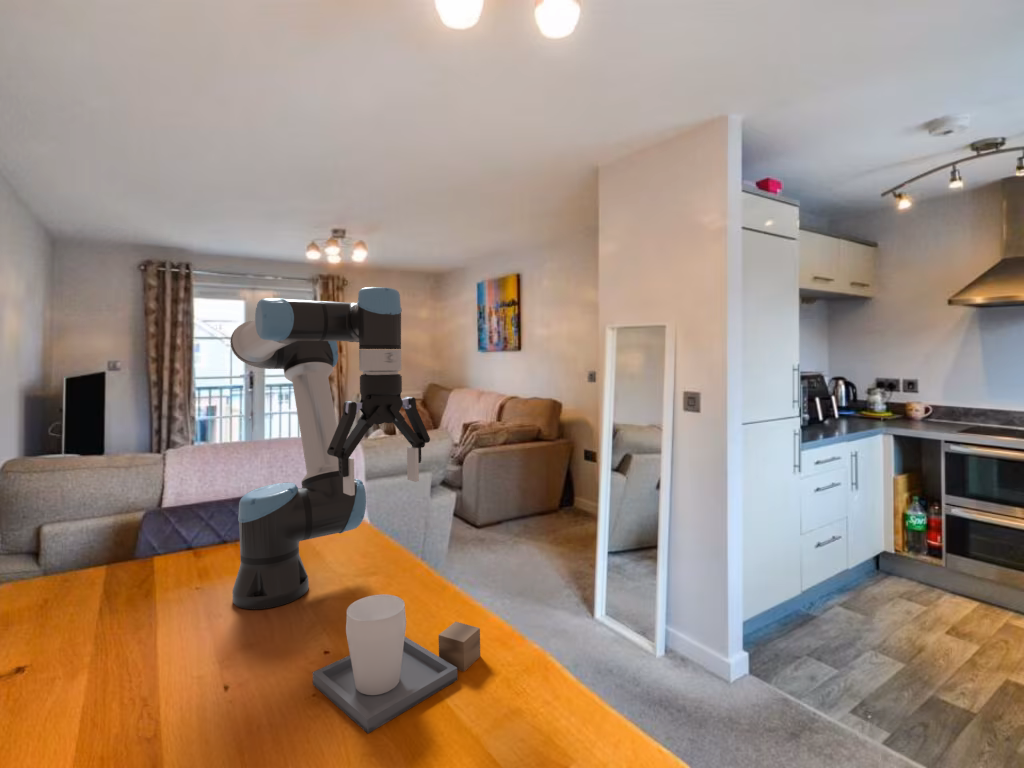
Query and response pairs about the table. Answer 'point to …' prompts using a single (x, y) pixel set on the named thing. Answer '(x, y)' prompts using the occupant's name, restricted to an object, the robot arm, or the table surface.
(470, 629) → the walnut cube
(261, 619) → the table surface
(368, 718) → the tray
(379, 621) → the cup
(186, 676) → the table surface
